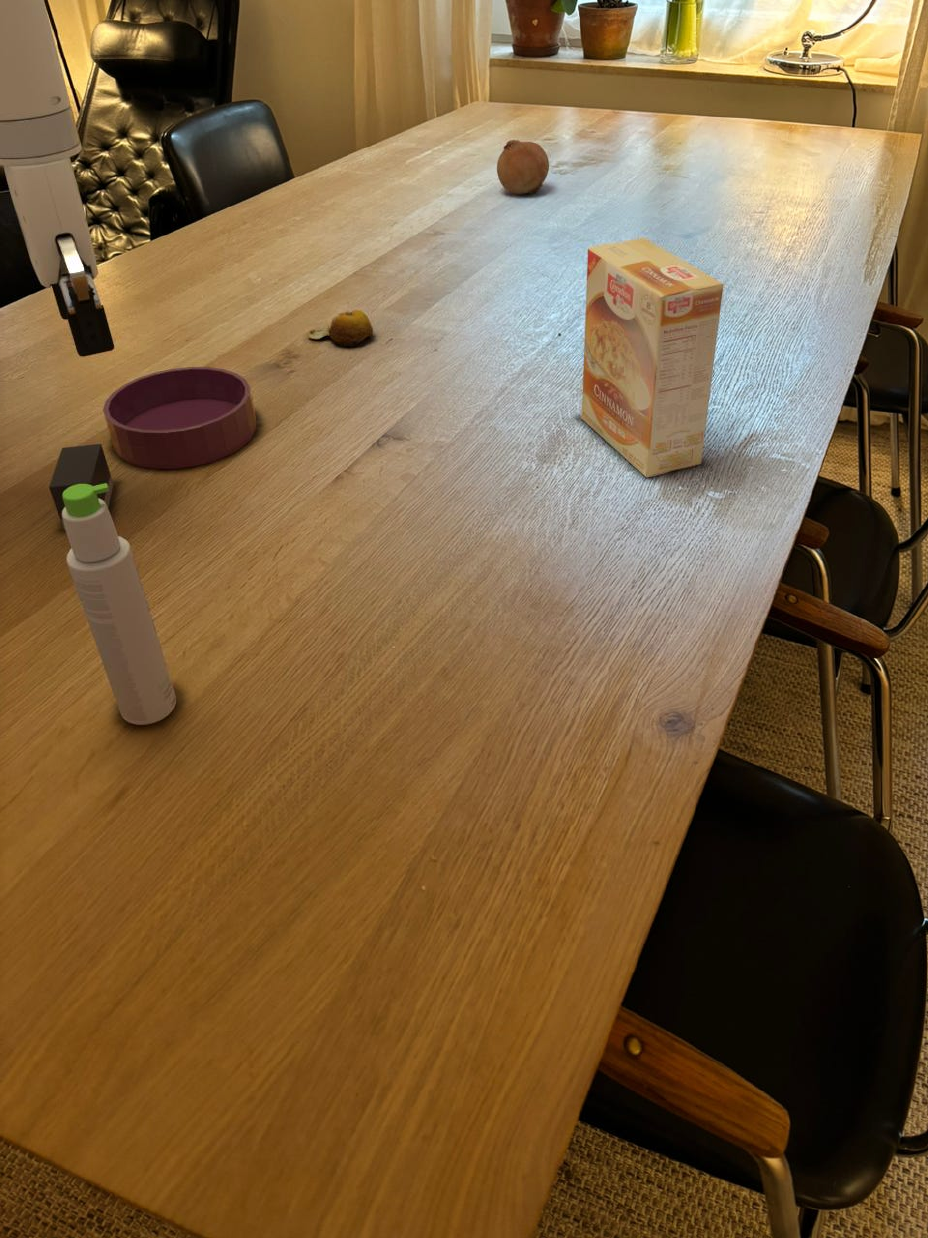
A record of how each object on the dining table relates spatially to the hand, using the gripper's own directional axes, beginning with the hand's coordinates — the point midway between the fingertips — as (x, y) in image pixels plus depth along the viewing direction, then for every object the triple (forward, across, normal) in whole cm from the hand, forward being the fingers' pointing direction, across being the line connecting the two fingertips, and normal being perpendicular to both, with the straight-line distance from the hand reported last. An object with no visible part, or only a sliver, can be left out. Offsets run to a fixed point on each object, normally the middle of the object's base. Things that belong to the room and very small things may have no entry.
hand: (87, 333), depth 93 cm
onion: (+18, -72, +86) cm, 113 cm away
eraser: (+18, -1, -5) cm, 19 cm away
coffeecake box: (+18, +16, +52) cm, 57 cm away
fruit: (+18, -28, +34) cm, 48 cm away
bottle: (+18, +33, -6) cm, 38 cm away
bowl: (+18, -11, +8) cm, 23 cm away
